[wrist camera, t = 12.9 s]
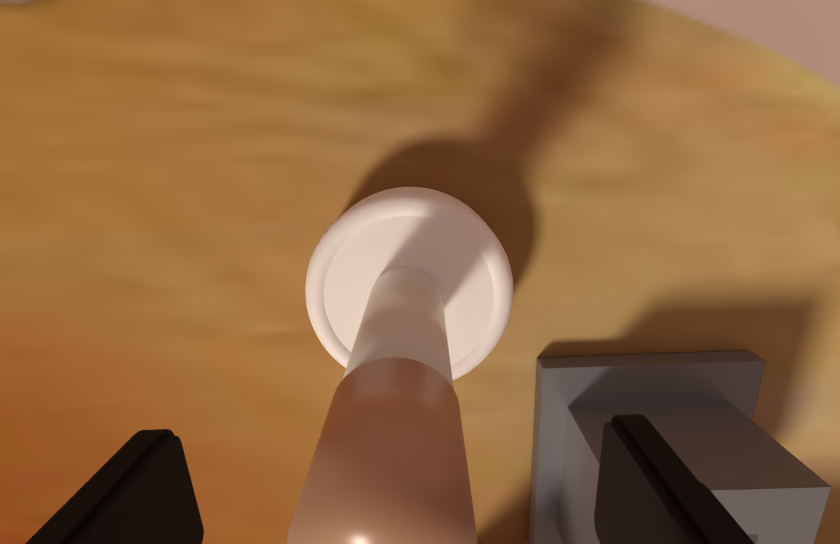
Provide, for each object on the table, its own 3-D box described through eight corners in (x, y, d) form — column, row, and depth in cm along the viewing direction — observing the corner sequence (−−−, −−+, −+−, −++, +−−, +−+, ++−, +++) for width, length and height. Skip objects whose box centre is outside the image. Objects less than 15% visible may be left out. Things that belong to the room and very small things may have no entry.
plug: (364, 266, 18) (271, 481, 7) (443, 262, 18) (477, 474, 7) (371, 337, 20) (301, 618, 8) (445, 334, 20) (478, 613, 8)
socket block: (536, 357, 23) (584, 445, 17) (748, 350, 23) (885, 436, 16) (528, 542, 28) (563, 674, 21) (708, 538, 27) (803, 669, 20)
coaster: (427, 389, 24) (428, 427, 21) (285, 294, 23) (262, 320, 19) (539, 261, 22) (560, 282, 19) (390, 145, 20) (384, 145, 17)
